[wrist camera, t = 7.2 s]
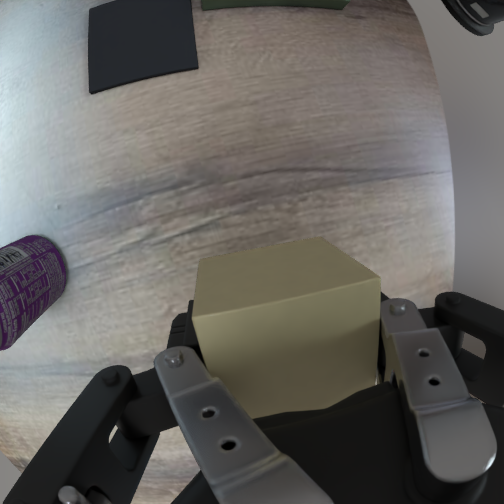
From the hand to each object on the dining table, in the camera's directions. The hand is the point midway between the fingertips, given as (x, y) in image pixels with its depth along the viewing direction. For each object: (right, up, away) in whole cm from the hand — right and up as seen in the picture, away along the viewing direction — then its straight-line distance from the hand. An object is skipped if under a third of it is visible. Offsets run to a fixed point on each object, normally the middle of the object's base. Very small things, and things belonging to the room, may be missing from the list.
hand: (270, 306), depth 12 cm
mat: (-11, +22, +8) cm, 26 cm away
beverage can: (-22, +1, +13) cm, 25 cm away
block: (0, 0, 0) cm, 0 cm away
